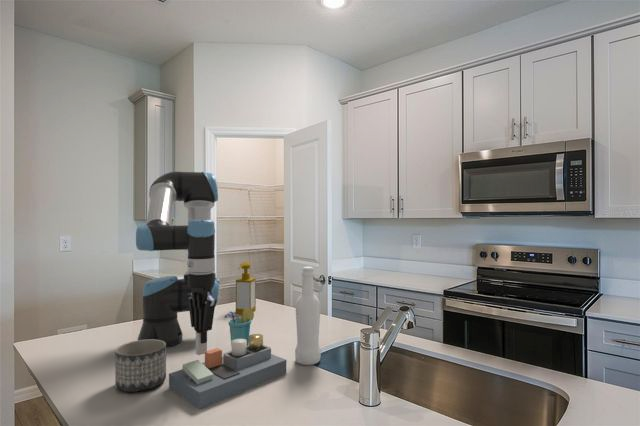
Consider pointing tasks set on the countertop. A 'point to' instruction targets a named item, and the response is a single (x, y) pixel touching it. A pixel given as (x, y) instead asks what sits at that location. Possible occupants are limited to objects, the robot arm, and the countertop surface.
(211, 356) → the slider knob
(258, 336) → the button brass
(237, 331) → the cup
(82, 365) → the countertop surface
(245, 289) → the soap bottle
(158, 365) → the planter
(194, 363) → the block
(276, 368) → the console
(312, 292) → the bottle
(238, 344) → the button ivory
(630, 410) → the countertop surface
